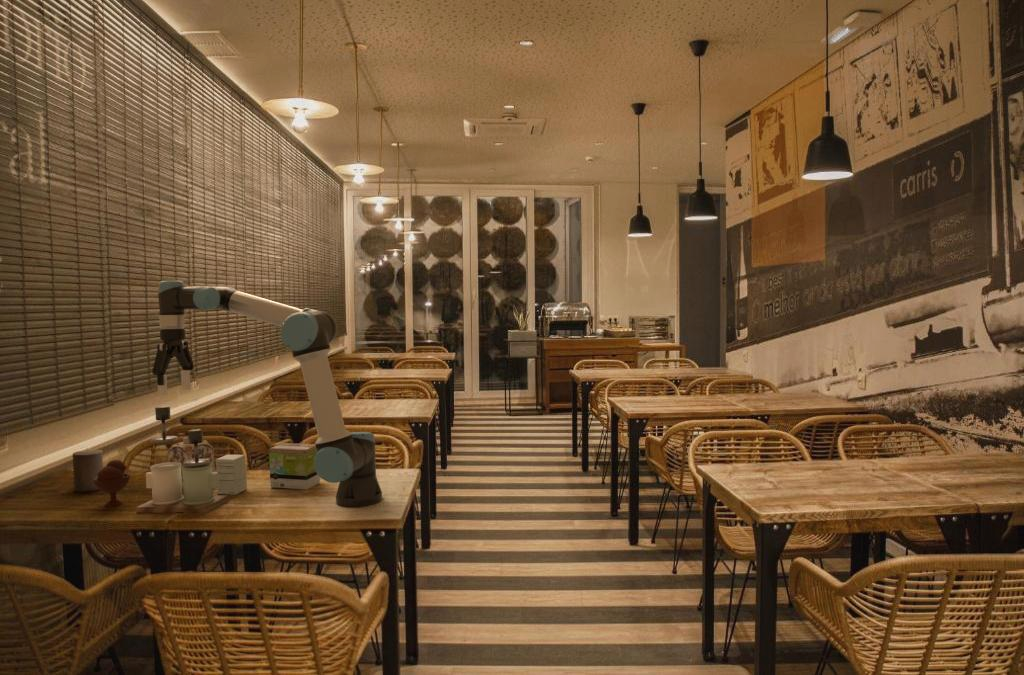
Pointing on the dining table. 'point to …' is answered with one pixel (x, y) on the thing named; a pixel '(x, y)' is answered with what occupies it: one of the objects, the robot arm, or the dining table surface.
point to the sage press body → (199, 484)
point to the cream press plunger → (163, 425)
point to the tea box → (293, 466)
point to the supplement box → (231, 474)
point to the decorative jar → (190, 453)
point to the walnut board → (182, 506)
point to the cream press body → (165, 483)
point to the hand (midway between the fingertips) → (174, 392)
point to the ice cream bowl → (112, 480)
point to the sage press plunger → (196, 448)
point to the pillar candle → (86, 469)
